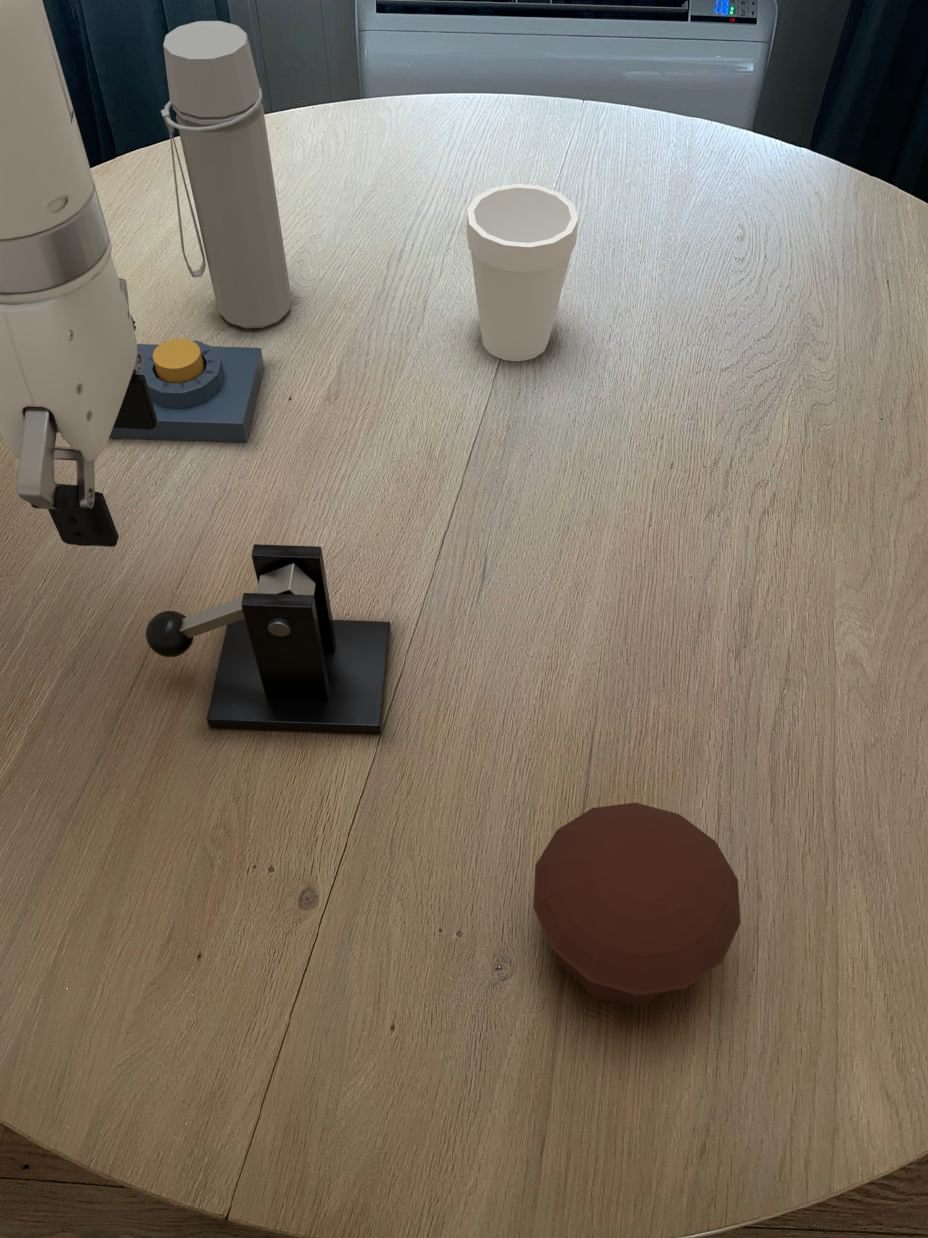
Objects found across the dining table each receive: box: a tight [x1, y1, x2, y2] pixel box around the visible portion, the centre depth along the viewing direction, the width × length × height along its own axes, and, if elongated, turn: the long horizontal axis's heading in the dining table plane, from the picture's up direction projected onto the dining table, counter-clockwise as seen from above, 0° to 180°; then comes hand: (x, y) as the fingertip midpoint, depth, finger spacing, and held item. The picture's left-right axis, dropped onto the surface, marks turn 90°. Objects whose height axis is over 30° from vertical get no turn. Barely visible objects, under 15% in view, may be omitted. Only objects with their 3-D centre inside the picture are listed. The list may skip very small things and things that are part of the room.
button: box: [153, 337, 204, 384], centre depth 89 cm, size 4×4×2 cm
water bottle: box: [160, 20, 292, 329], centre depth 90 cm, size 9×8×25 cm
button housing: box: [109, 340, 265, 443], centre depth 91 cm, size 12×10×4 cm
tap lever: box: [145, 563, 316, 658], centre depth 69 cm, size 13×3×3 cm, turn 87°
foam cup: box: [466, 183, 579, 362], centre depth 93 cm, size 10×9×13 cm
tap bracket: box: [206, 543, 392, 736], centre depth 70 cm, size 12×9×12 cm
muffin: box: [532, 802, 742, 1009], centre depth 60 cm, size 12×11×10 cm
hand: (113, 480), depth 63 cm, fingers open, 9 cm apart
